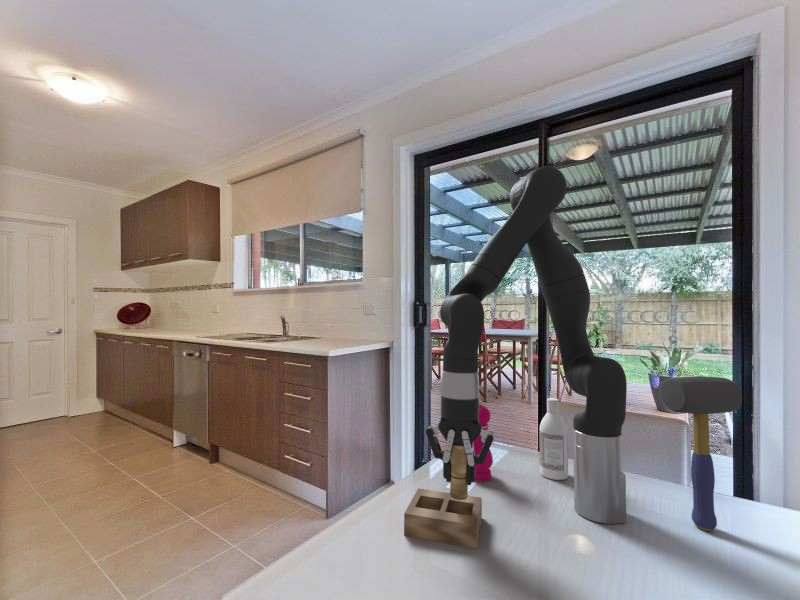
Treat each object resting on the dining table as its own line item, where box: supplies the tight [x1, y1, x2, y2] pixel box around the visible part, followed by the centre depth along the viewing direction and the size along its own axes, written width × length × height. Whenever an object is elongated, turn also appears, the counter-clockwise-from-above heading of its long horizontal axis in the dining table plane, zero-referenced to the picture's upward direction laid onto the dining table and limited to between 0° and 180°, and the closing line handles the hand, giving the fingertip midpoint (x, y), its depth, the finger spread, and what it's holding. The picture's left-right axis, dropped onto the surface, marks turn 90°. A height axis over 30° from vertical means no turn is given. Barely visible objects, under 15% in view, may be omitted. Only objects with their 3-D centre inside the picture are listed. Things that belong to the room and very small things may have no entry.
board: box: [403, 488, 483, 549], centre depth 74 cm, size 14×11×4 cm
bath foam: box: [538, 397, 569, 481], centre depth 99 cm, size 7×7×20 cm
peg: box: [449, 445, 469, 500], centre depth 73 cm, size 4×4×10 cm
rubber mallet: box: [660, 375, 743, 532], centre depth 75 cm, size 12×8×30 cm, turn 95°
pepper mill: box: [473, 398, 494, 482], centre depth 98 cm, size 7×7×20 cm
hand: (458, 481), depth 73 cm, fingers closed on peg, 3 cm apart
